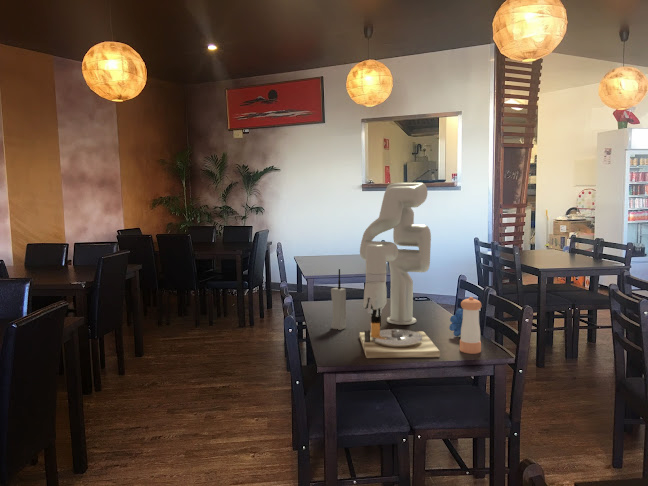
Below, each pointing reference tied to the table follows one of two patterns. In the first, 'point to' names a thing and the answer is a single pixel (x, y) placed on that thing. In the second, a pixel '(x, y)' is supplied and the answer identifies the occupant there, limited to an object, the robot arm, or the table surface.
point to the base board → (398, 348)
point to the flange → (394, 336)
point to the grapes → (457, 322)
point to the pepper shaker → (470, 326)
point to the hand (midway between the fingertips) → (376, 326)
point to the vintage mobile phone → (339, 307)
